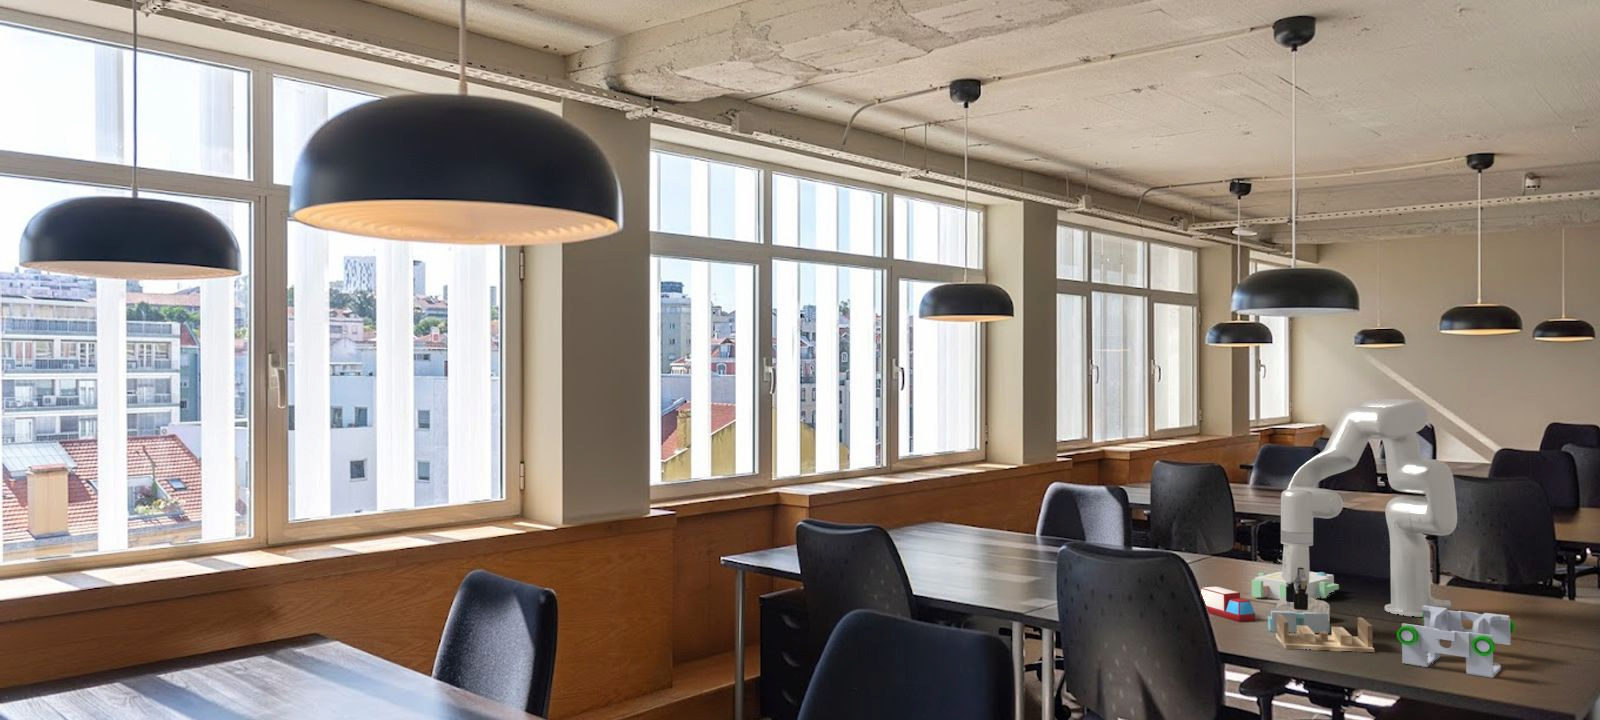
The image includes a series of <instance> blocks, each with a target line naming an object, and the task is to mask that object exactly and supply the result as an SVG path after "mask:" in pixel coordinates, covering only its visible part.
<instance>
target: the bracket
mask: <svg viewBox="0 0 1600 720" xmlns="http://www.w3.org/2000/svg"><path fill="white" fill-rule="evenodd" d="M1422 611H1423V615H1422V617H1421V618H1422V620H1423V625H1418V624H1410V623H1404V622H1403V623H1401V627H1400V628H1399V629H1398V630H1397V631H1396V637H1397V639H1398V641H1399V642H1400V643H1401V653H1402V654H1401V656H1402V658H1401V660H1402V661H1401V662H1402V663H1401V664H1403V663H1405V664H1411V665H1417V666H1416V667H1418V666H1422V667H1421V668H1424V667H1428V666H1429V665H1430V664H1431V663H1432V664H1434V663H1435V662H1436V661H1437V660H1438V659H1439V658H1440V657H1441V654H1443V655H1447V656H1456V657H1462V658H1465V665H1466V666H1465V667H1466V668H1465V671H1466V672H1465V673H1466V675H1470V676H1477V677H1484V678H1491V679H1493V678H1495V676H1496V675H1497V674H1499V672H1500V671H1501V670H1502V665H1501V664H1500V663H1497V662H1494V651H1495V649H1496V644H1501V645H1507V646H1511V644H1512V643H1511V639H1512V638H1511V635H1512V634H1513V633H1514V631H1515V629H1516V625H1515V622H1514V621H1513V620H1512V619H1511V618H1510V615H1508V614H1507V615H1506V614H1500V613H1499V614H1496V613H1491V612H1490V613H1489V612H1484V613H1482V614H1481V613H1479V612H1474V611H1472V612H1471V611H1466V610H1465V611H1464V610H1463V611H1462V610H1457V611H1456V610H1448V608H1443V607H1433V606H1425V605H1424V606H1422ZM1462 620H1464V621H1471V622H1472V627H1471V629H1467V628H1464V626H1463V624H1462ZM1441 640H1443V641H1451V644H1450V646H1449V647H1445V646H1442V645H1441ZM1427 656H1428V657H1427ZM1438 657H1439V658H1438ZM1437 658H1438V659H1437ZM1436 659H1437V660H1436ZM1435 660H1436V661H1435ZM1434 661H1435V662H1434ZM1433 662H1434V663H1433ZM1405 664H1404V665H1405ZM1432 664H1431V665H1432ZM1411 665H1410V666H1411ZM1431 665H1430V666H1431ZM1430 666H1429V667H1430ZM1429 667H1428V668H1429Z"/></svg>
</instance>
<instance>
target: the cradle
mask: <svg viewBox="0 0 1600 720" xmlns="http://www.w3.org/2000/svg"><path fill="white" fill-rule="evenodd" d="M1275 638H1276V639H1277V640H1278V641H1279V643H1280V644H1281V645H1282V646H1283V648H1284V649H1285V650H1297V649H1304V650H1305V649H1307V650H1305V651H1319V650H1330V651H1329V652H1341V651H1353V652H1352V653H1355V652H1354V651H1358V652H1357V653H1363V652H1374V653H1375V648H1374V647H1373V625H1372V624H1370V623H1369V622H1368V621H1367V620H1365V619H1364V618H1363V617H1357V636H1354V635H1353V636H1352V634H1350V633H1349V631H1347V630H1346V629H1345V628H1344V627H1343V626H1331V634H1328V633H1327V632H1326V631H1319V634H1315V633H1314V632H1313V631H1312V630H1311V629H1310V628H1309V627H1308V626H1304V625H1297V631H1296V633H1289V623H1288V622H1287V620H1286V619H1285V618H1284V617H1283V616H1282V615H1281V614H1277V632H1275ZM1309 649H1311V650H1309ZM1304 650H1303V651H1304Z"/></svg>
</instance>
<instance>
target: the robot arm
mask: <svg viewBox="0 0 1600 720" xmlns="http://www.w3.org/2000/svg"><path fill="white" fill-rule="evenodd" d="M1428 421H1429V411H1428V409H1427V407H1426V405H1425V404H1424V403H1423V402H1422V401H1419V400H1417V399H1401V398H1400V399H1397V398H1371V399H1368V400H1365V401H1364V402H1362V403H1361V404H1360V406H1359V405H1358V406H1357V405H1356V406H1352V407H1351V406H1350V407H1348V408H1346V409H1345V410H1344V411H1343V413H1341V415H1340V418H1339V420H1338V422H1337V424H1336V425H1335V427H1334V429H1333V431H1332V433H1331V435H1330V438H1329V439H1328V441H1327V443H1326V445H1325V447H1324V449H1323V450H1322V451H1321V452H1319V453H1317V454H1316V455H1315V456H1313V457H1312V458H1310V459H1309V460H1308V461H1306V462H1305V463H1304V464H1302V465H1301V466H1300V467H1299V468H1298V469H1297V470H1296V471H1295V473H1294V474H1293V476H1291V477H1292V478H1291V480H1290V482H1289V483H1288V486H1287V488H1286V489H1285V490H1283V491H1282V492H1281V494H1280V544H1282V545H1283V551H1282V566H1281V567H1282V568H1281V571H1282V578H1283V579H1284V580H1285V581H1286V585H1287V586H1286V601H1287V602H1294V609H1296V610H1308V590H1307V584H1309V571H1310V547H1312V546H1314V518H1321V519H1333V518H1335V517H1337V516H1339V514H1340V513H1341V512H1342V510H1343V508H1344V501H1343V499H1342V497H1341V495H1340V494H1339V493H1337V492H1336V491H1334V490H1332V489H1327V488H1318V487H1315V486H1316V485H1318V483H1319V482H1320V481H1322V480H1325V479H1327V478H1328V477H1331V476H1333V475H1337V474H1340V473H1343V472H1347V471H1349V470H1352V469H1353V468H1355V467H1356V466H1357V464H1358V462H1359V461H1360V458H1361V457H1362V454H1363V452H1364V451H1365V448H1366V446H1367V445H1368V442H1369V440H1372V439H1373V440H1381V441H1382V443H1383V448H1384V455H1385V466H1386V473H1387V478H1388V483H1389V486H1390V487H1391V488H1392V490H1395V491H1397V492H1402V493H1411V494H1419V495H1425V496H1426V497H1422V496H1421V497H1420V496H1410V495H1409V496H1408V495H1401V496H1400V495H1399V496H1395V497H1393V498H1392V499H1389V501H1388V502H1387V504H1386V506H1385V509H1384V510H1385V513H1384V514H1385V520H1386V525H1387V529H1388V534H1389V549H1390V550H1389V551H1390V555H1389V560H1390V563H1389V564H1390V565H1389V566H1390V603H1388V604H1385V605H1384V611H1386V612H1387V613H1389V612H1390V613H1389V614H1393V615H1397V614H1399V615H1398V616H1403V615H1404V616H1405V617H1412V616H1414V617H1413V618H1415V617H1416V618H1422V615H1423V611H1422V606H1424V605H1425V606H1433V607H1442V608H1447V609H1448V608H1449V609H1450V608H1452V603H1451V600H1447V599H1446V600H1443V599H1437V598H1434V597H1433V596H1432V595H1431V593H1432V591H1431V550H1430V548H1431V547H1430V545H1429V542H1428V540H1427V538H1426V537H1425V535H1431V536H1433V535H1434V536H1449V535H1451V534H1452V533H1453V532H1455V529H1456V528H1457V523H1458V508H1457V507H1458V506H1457V500H1456V499H1457V498H1456V489H1455V480H1454V475H1453V472H1452V470H1451V468H1450V467H1449V465H1448V464H1447V463H1446V462H1444V461H1442V460H1439V459H1430V458H1424V457H1422V453H1421V447H1420V441H1419V438H1418V435H1417V432H1419V431H1421V430H1423V429H1424V427H1425V426H1426V425H1427V423H1428ZM1424 534H1425V535H1424ZM1404 616H1403V617H1404Z"/></svg>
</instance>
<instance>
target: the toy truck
mask: <svg viewBox="0 0 1600 720" xmlns="http://www.w3.org/2000/svg"><path fill="white" fill-rule="evenodd" d="M1200 591H1201V592H1200V595H1201V594H1202V596H1203V599H1204V601H1205V604H1206V607H1207V609H1208V612H1209V613H1208V614H1210V615H1213V616H1218V617H1220V618H1223V619H1228V620H1231V621H1234V622H1237V623H1243V622H1244V623H1246V622H1254V621H1256V613H1255V611H1254V608H1253V606H1252V603H1251V601H1250V600H1249V599H1245V598H1241V592H1239V591H1237V590H1236V591H1235V590H1232V589H1227V588H1224V587H1220V586H1208V587H1207V586H1206V587H1201V588H1200Z"/></svg>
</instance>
